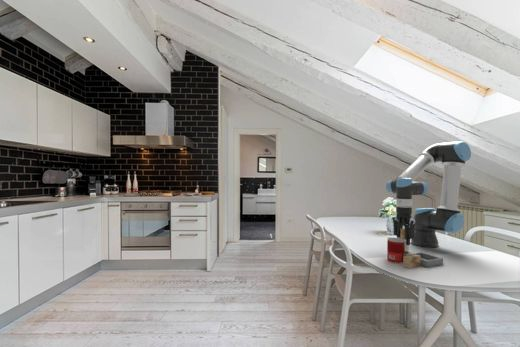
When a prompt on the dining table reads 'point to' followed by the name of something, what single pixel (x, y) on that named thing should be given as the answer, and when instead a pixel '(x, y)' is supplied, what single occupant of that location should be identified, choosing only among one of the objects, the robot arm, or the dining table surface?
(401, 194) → the robot arm
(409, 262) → the wooden block
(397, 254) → the canned food
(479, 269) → the dining table surface
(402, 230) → the dowel
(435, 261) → the tray
